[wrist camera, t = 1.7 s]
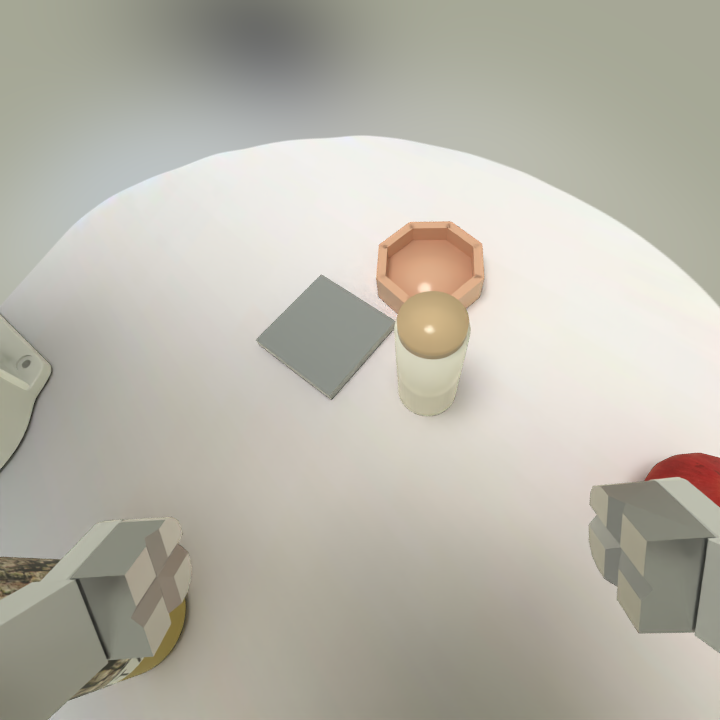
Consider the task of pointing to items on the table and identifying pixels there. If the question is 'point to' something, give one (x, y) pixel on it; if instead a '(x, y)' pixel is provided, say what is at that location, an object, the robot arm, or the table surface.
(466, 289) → the terracotta dish
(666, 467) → the onion
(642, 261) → the table surface
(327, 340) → the slate coaster
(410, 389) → the spice jar
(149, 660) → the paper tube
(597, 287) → the table surface
